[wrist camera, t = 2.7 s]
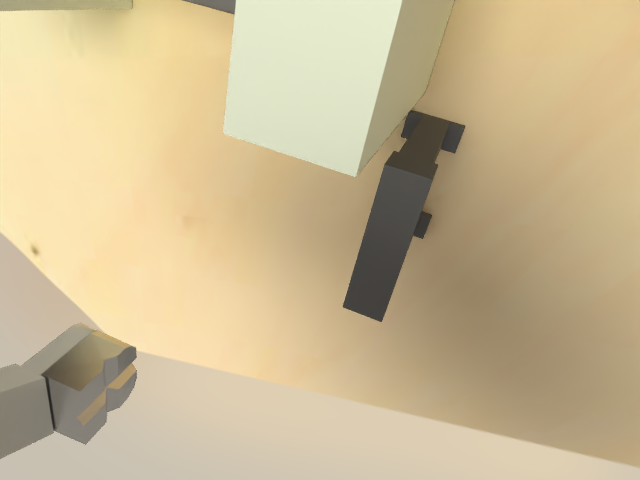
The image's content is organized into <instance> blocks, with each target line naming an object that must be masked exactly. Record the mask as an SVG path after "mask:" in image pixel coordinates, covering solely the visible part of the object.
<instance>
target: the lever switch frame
mask: <svg viewBox="0 0 640 480" xmlns="http://www.w3.org/2000/svg"><path fill="white" fill-rule="evenodd" d="M183 1H187V2H191V3H194V4H198V5H202V6H205V7H209V8H213V9H216V10H220V11H224V12H227V13H231V14H235V16H234V27H233V37H232V47H231V57H230V67H229V77H228V87H227V98H226V108H225V118H224V128H223V134H225V135H228V136H231V137H234V138H237V139H240V140H243V141H247V142H250V143H253V144H256V145H259V146H262V147H265V148H268V149H271V150H274V151H277V152H280V153H283V154H286V155H289V156H292V157H295V158H298V159H301V160H304V161H307V162H310V163H313V164H317V165H320V166H323V167H326V168H329V169H332V170H335V171H338V172H341V173H344V174H347V175H350V176H353V177H356V176H357V175H358V174H359V173H360V172H361V170H362V169H363V168H364V167H365V165H366V164H367V163H368V162H369V160H370V159H371V158H372V157H373V156H374V154H375V153H376V152H377V151H378V149H379V148H380V147H381V146H382V145H383V143H384V142H385V141H386V140H387V138H388V137H389V136H390V135H391V133H392V132H393V131H394V130H395V129H396V127H397V126H398V125H399V124H400V122H401V121H402V120H403V119H404V118H405V116H406V115H407V114H408V113H409V111H410V110H411V109H412V108H413V106H414V105H415V104H416V103H417V102H418V100H419V99H420V98H421V97H422V95H423V94H424V93H425V92H426V89H427V85H428V82H429V79H430V76H431V73H432V70H433V66H434V63H435V60H436V57H437V54H438V51H439V47H440V44H441V41H442V38H443V35H444V32H445V28H446V25H447V22H448V19H449V16H450V13H451V10H452V6H453V3H454V0H183ZM130 8H132V0H0V11H21V10H75V9H130Z"/></svg>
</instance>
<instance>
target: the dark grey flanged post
mask: <svg viewBox="0 0 640 480" xmlns="http://www.w3.org/2000/svg"><path fill="white" fill-rule="evenodd" d="M464 128H465V126H464V125H461V124H457V123H454V122H450V121H447V120H444V119H440V118H437V117H433V116H430V115H427V114H423V113H420V112H416V111H413V110H410V111H409V113H408V115H407V118H406V121H405V125H404V128H403V131H402V135H401V137H403V138H406V139H408V140H407V141H406V143H405V144H404V146H403V147H402V149H401V150H400V152H396V151H394V152H393V153H392V155H391V156H390V158H389V159H388V160H387V162H386V163H385V165H384V169H383V172H382V175H381V179H380V182H379V185H378V189H377V192H376V196H375V199H374V202H373V206H372V209H371V213H370V216H369V219H368V223H367V226H366V230H365V233H364V236H363V240H362V243H361V247H360V250H359V253H358V257H357V260H356V264H355V267H354V270H353V274H352V277H351V280H350V284H349V287H348V291H347V294H346V297H345V301H344V304H343V307H344V308H346V309H349V310H351V311H354V312H357V313H359V314H362V315H364V316H367V317H370V318H372V319H375V320H377V321H380V322H382V320H383V317H384V314H385V312H386V309H387V306H388V303H389V301H390V298H391V295H392V292H393V289H394V287H395V284H396V281H397V278H398V275H399V273H400V270H401V267H402V264H403V262H404V259H405V256H406V253H407V250H408V248H409V245H410V242H411V239H412V236H416V237H419V238H422V239H423V238H424V235H425V232H426V230H427V227H428V224H429V222H430V219H431V216H432V215H430V214H427V213H424V212H421V211H422V209H423V206H424V203H425V200H426V197H427V195H428V192H429V189H430V186H431V183H432V181H433V178H434V175H435V172H436V170H437V167H438V165H437V164H435V161H436V159H437V156H438V153H439V151H440V149H442V150H446V151H449V152H452V153H455V152H456V149H457V147H458V144H459V141H460V139H461V136H462V133H463V131H464Z"/></svg>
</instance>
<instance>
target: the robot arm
mask: <svg viewBox="0 0 640 480" xmlns="http://www.w3.org/2000/svg"><path fill="white" fill-rule="evenodd" d="M135 358H136V348H135V347H133V346H131V345H129V344H127V343H124V342H122V341H120V340H118V339H116V338H113V337H111V336H109V335H107V334H105V333H102V332H100V331H98V330H96V329H93V328H91V327H89V326H87V325H84V324H82V323H79V324H76V325H73V326H71V327H70V328H69V329H68V330H66V331H65V332H64V333H62V334H61V335H60V336H59V337H57V338H56V339H55V340H53V341H52V342H51V343H50V344H48V345H47V346H46V347H44V348H43V349H42V350H41V351H39V352H38V353H37V354H35V355H34V356H33V357H32V358H30V359H29V360H28V361H26V362H25V363H24V364H23V365H21V366H19V365H17V364H13V365H10V366H7V367H3V368H0V459H1V458H3V457H5V456H7V455H9V454H11V453H13V452H16V451H18V450H20V449H22V448H24V447H26V446H28V445H30V444H32V443H34V442H36V441H38V440H40V439H42V438H44V437H47V436H49V435H51V434H53V433H54V431H56V432H58V433H60V434H63V435H65V436H67V437H69V438H72V439H74V440H76V441H79V442H81V443H83V444H87V443H88V441H89V440H90V439H91V438H92V437H93V436H94V435H95V434H96V433H97V432H98V431H99V430H100V428H101V427H102V426H103V425H104V424H105V423H106V420H107V412H109V411H111V410H114V409H117V408H119V407H120V406H121V405H122V404H123V403H124V402H125V401H126V399H127V398H128V397H129V395H130V393H131V391H132V390H133V388H134V385H135V382H136V378H137V370H136V369H135V367H134V365H133V364H132V362H133V361H134V360H135Z"/></svg>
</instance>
